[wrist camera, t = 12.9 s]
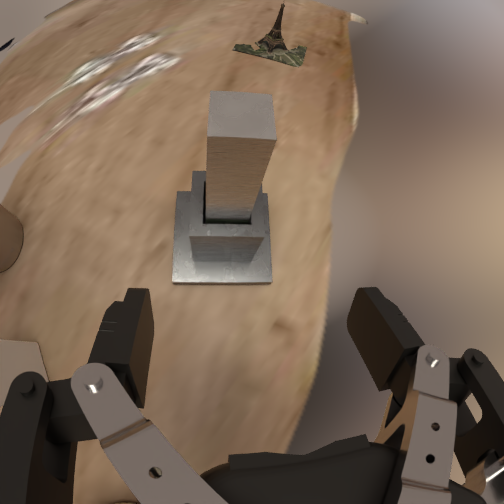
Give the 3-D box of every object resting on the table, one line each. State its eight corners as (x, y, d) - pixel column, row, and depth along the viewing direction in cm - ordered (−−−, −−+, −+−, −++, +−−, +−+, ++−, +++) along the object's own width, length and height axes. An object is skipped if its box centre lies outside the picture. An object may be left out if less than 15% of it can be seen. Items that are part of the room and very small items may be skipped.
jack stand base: (173, 284, 36) (160, 262, 26) (178, 196, 39) (170, 151, 29) (269, 284, 38) (292, 262, 28) (265, 198, 41) (282, 155, 31)
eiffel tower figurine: (230, 52, 51) (237, 0, 38) (243, 32, 54) (251, -14, 42) (300, 70, 52) (318, 20, 39) (306, 48, 55) (322, 3, 43)
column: (205, 234, 31) (207, 136, 16) (206, 199, 32) (210, 90, 17) (243, 234, 32) (276, 139, 16) (243, 200, 33) (271, 94, 18)
